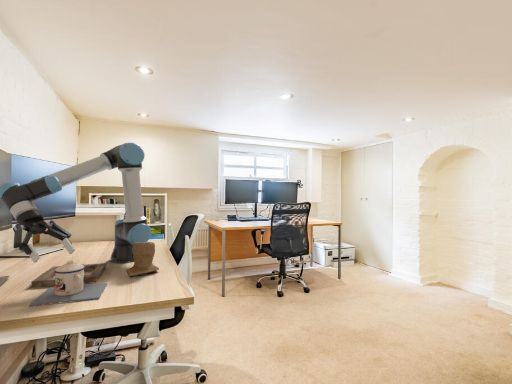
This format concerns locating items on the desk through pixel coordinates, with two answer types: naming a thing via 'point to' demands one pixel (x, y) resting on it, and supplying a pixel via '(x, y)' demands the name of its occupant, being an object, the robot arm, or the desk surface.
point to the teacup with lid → (69, 279)
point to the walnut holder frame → (47, 276)
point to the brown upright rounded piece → (142, 258)
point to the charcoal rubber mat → (86, 294)
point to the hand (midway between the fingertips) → (56, 255)
